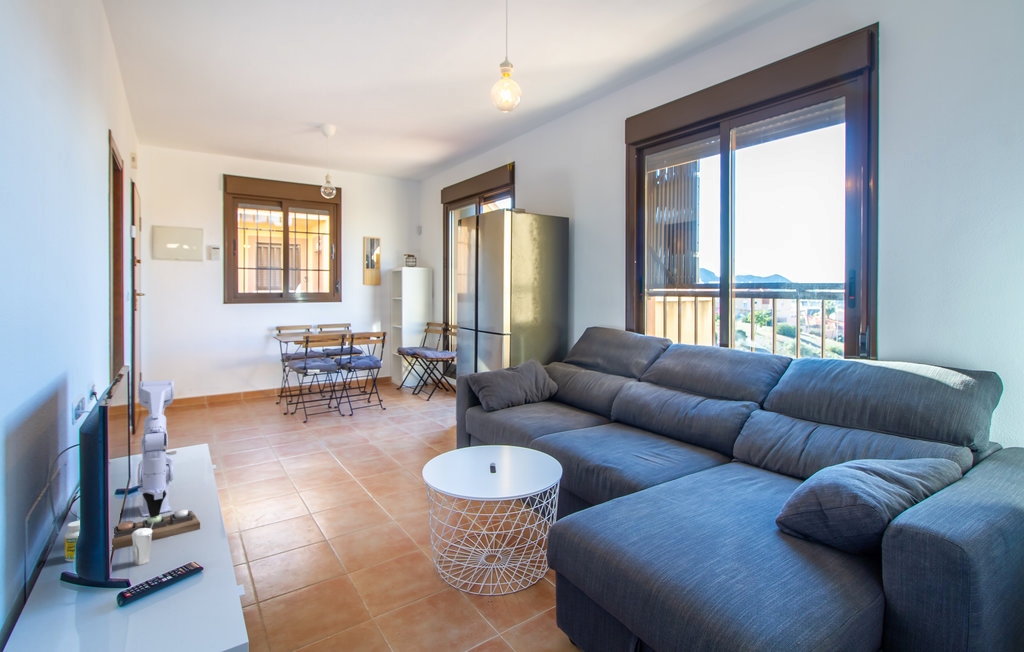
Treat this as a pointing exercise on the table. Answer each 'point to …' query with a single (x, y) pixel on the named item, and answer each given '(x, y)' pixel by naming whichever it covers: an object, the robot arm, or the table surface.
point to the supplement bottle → (71, 540)
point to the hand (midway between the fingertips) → (154, 515)
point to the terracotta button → (125, 525)
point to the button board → (157, 529)
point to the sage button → (154, 519)
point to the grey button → (180, 513)
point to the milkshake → (142, 545)
